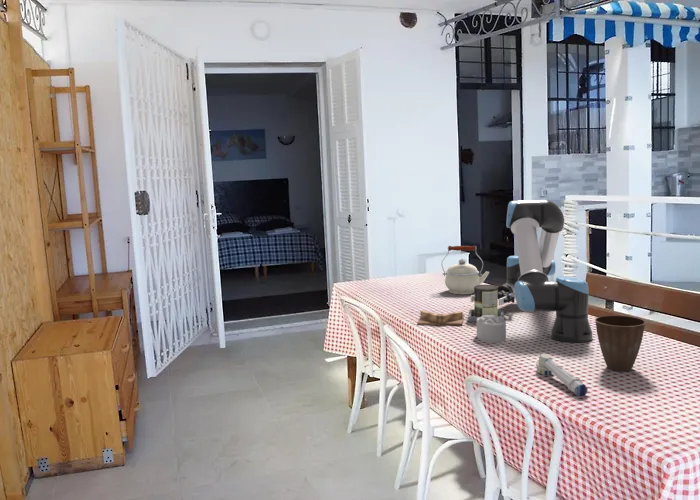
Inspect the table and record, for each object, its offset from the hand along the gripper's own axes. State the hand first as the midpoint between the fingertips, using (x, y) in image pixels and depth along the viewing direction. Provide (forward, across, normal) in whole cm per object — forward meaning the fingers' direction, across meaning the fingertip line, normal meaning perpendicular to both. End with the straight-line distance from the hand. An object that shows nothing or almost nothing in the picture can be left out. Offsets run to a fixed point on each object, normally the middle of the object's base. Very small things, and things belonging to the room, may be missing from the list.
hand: (485, 300), depth 277 cm
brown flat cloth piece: (+14, +14, -8) cm, 21 cm away
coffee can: (0, 0, -8) cm, 8 cm away
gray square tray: (0, 0, -8) cm, 8 cm away
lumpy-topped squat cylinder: (+28, -17, -8) cm, 34 cm away
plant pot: (+39, -67, -8) cm, 78 cm away
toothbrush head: (+62, -56, -8) cm, 85 cm away
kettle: (-47, +35, -8) cm, 59 cm away
